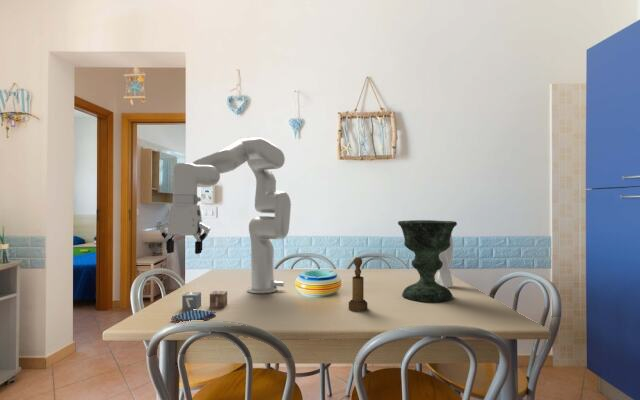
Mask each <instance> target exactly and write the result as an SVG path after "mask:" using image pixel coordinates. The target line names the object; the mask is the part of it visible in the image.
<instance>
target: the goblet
mask: <svg viewBox="0 0 640 400" xmlns="http://www.w3.org/2000/svg"><path fill="white" fill-rule="evenodd" d="M397 224H398V226H399V227H400V228H401V231H402V234H403V237H404V238H403V239H404V242H403V244H404V245H403V246H405V248H407V250H409V251H411V252H413V253H414V258H413V259H412V260H411V266H412V268H414V269H416V271H417V272H418V274H419V279H418V281H417V282H414V283H413V284H410V285H408V286H406V287H405V288H404V290H403V291H402V294H401V295H402V297H403V298H405V299H409V300H413V301H418V302H426V303H427V302H429V303H437V302H438V303H439V302H440V303H441V302H447V301H451V300H453V299H454V296H453V294H452V292H451V290H450V288H446V287H444V286H441V285H439V284H437V283H436V279H435V280H434V276H435V275H436V273H438V270H440V269H441V268H442V265H443V263H442V261H440V259H439V254H440V253H441V252H443V251H445V250H447V249H448V248H449V247H450V237H451V235H452V233H453V231H454V228H455V227H456V226H458V223H457V221H455V220H454V221H453V220H436V219H435V220H432V219H431V220H429V219H427V220H426V219H425V220H424V219H422V220H421V219H420V220H419V219H415V220H398V221H397Z"/></svg>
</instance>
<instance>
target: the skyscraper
mask: <svg viewBox="0 0 640 400" xmlns="http://www.w3.org/2000/svg"><path fill="white" fill-rule="evenodd" d="M453 254H454V244H453V236H452V234H451V237H450V247H449V248H448V249H447V250H445V251H443V252H441V253H440V254H439V259H440V261H442V263H443V265H442V268H441V269H440V270H438V271H437V276H436V277H437V278H436V277H435V276H434V280H435V282H436V283H437V284H439V285H441V286H444V287H449V288H453V287H454V284H453V279H452V274H451V270H450V269H451V266H452V262H453V261H452V260H453V256H454V255H453ZM452 286H453V287H452Z"/></svg>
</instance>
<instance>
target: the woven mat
mask: <svg viewBox="0 0 640 400" xmlns="http://www.w3.org/2000/svg"><path fill="white" fill-rule="evenodd" d="M214 316H215V317H216V316H217V314H216V311H209V310H207V311H206V310H201V309H197V310H193V309H192V310H186V311H185V312H182V313H179V314H175V315H174V316H171V318H170V320H171V321H170V322H174V323H177V322H178V323H179V321H189V320H190V321H191V320H206V321H208V320H209V319H208V318H210V319H212V318H214ZM211 317H212V318H211Z"/></svg>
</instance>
